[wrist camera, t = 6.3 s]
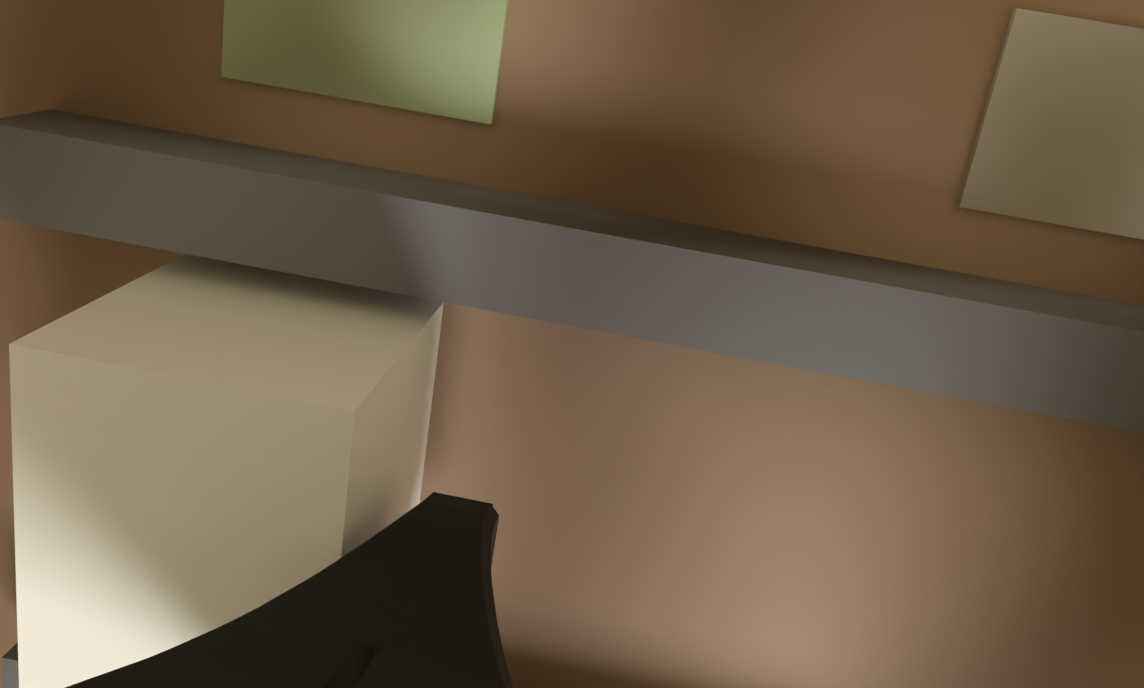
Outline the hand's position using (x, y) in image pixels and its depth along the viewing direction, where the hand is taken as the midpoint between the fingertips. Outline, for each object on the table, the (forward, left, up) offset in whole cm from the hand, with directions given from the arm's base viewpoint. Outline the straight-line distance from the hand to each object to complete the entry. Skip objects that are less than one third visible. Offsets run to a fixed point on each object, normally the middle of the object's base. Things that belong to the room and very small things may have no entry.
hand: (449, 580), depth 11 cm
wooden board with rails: (-1, 0, -4) cm, 4 cm away
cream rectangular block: (+2, 0, -2) cm, 3 cm away
